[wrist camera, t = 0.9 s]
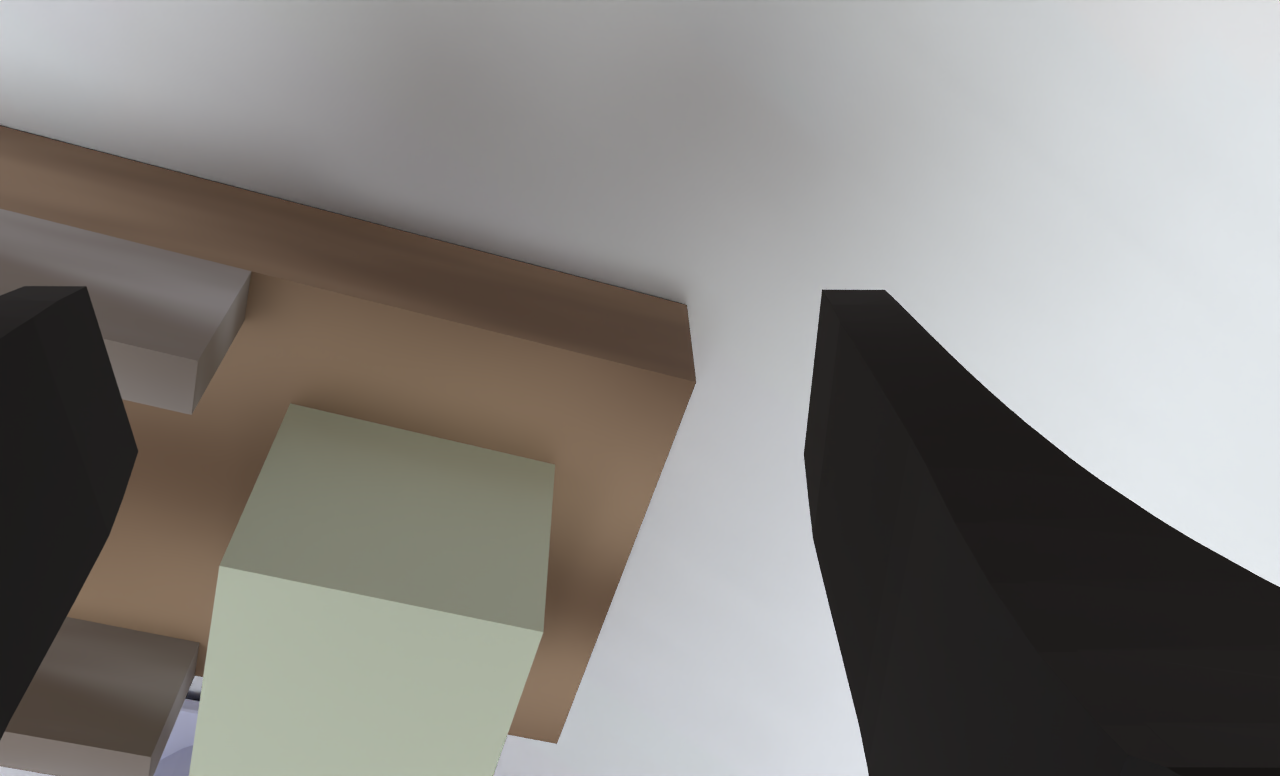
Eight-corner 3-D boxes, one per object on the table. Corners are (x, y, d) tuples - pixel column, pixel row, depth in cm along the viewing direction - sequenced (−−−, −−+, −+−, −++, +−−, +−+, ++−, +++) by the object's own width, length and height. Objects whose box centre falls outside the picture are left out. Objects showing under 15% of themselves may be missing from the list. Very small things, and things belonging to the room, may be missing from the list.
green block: (495, 649, 24) (474, 830, 21) (256, 600, 24) (187, 780, 20) (554, 464, 22) (543, 632, 18) (290, 403, 21) (219, 566, 17)
